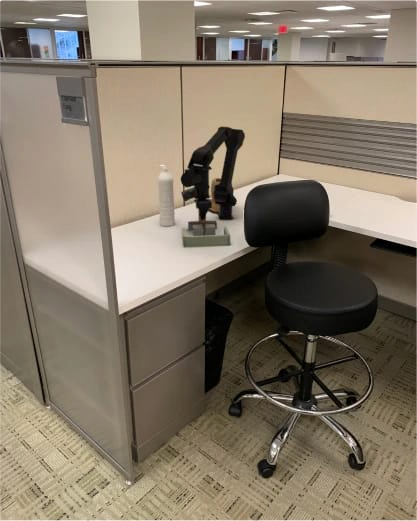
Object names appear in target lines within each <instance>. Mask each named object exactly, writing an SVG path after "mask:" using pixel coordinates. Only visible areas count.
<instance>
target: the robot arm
mask: <svg viewBox="0 0 417 521" xmlns="http://www.w3.org/2000/svg"><path fill="white" fill-rule="evenodd" d="M245 138H246V134H245V132H244V131H243V129H237V128H232V127H230V126H219V127H218V128H217V130H216V132H215V133H214V134H213V135H212V136H211V137H210V139H209V140H208V141H207V142H206V143H205V144H204V145H202V146H199V147H198V148H196V149H195V150H194V151H193V152H192V154H191V157H190V158H189V159H190V160H189V162H188V165H187V166H186V167H187V168H186V169H184V173H182V174H181V177H180V182H181V185H182V186H183V187H185V188H188V189H185V190H182V191H181V193H180V194H181V197H182V199H183V201H184V202H188V201H189V200H192V199H194V203H195V209H197V210H198V209H199V211H200V216H201V220H204V219H205V216H206V217H207V214H208V211H209V210H210V209H209V208H212V203H211V201H210V200H209V199H211V197H210V189H211V186H210V171H212V169H213V168H212V166H210V165H211V164H212V162H213V160H214V159H215V158H214V154H216V152H217V150H218V149H219V148H220V147H221V146H222V145H223V143H224V145H225V148H226V150H225V155H224V156H225V157H224V160H223V167H222V172H221V177H220V178H221V181H220V183H219V184H218V185H215V190H214V193H213V194H214V200H215V204H219V212H218V214H217V217H218V219H219V220H233V219H234V216H233V207H235V206H236V205H237V202H238V200H237V198H236V196H235V194H234V188H233V177H234V173H235V172H234V171H235V167H236V162H237V156H238V151H239V150H240V149H241V148H242V146H243V144H244V141H245ZM231 183H232V184H231ZM190 187H191V188H190Z"/></svg>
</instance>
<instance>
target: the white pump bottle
mask: <svg viewBox="0 0 417 521" xmlns="http://www.w3.org/2000/svg"><path fill="white" fill-rule="evenodd" d="M159 169H161V171H160V174H159V175H158V177H157V188H158V190H157V191H158V205H159V206H158V209H159V224H160V226H163V227H171V226H174V225H175V224H176V222H175V220H176V218H175V198H174V197H175V196H174V177H173V176H172V174H171V173H170V171H169V169H168V167H167V166H166V164H160V165H159Z"/></svg>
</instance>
